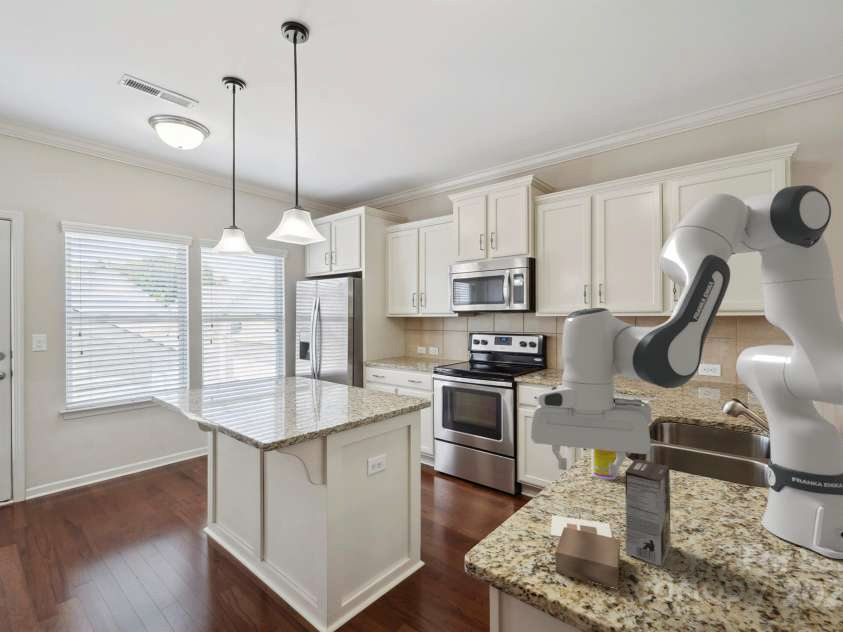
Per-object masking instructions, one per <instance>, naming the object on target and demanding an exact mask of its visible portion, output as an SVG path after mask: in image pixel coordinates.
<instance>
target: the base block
mask: <svg viewBox="0 0 843 632" xmlns="http://www.w3.org/2000/svg"><path fill="white" fill-rule="evenodd" d="M620 542H621V539H619V538H614V537H612V538H611V537H606V536H602V535H598V534H593V533H589V532H584V531H580V530H575V529H571V528H566V527H564V529H563V532H562V535H561V537H559V540H558V544H557V546H556V550H555V553H554V554H555V555H554V556H555V557H554V558H555V561H554V562H555V566H554V567H555V574H559V575H563V576H565V577H570V578H573V577H574V579H577V578H578V579H577V580H580V579H581V581H584V580H585V582H588V581H590V582H589V583H591V582H594V583H593V584H595V583H598V584H597V585H599V584H602V585H606V586H610V587H614V588H617V589H619V573H620V563H619V562H620V559H621V555H620V553H621V552H620V551H621V543H620ZM602 585H601V586H602ZM606 586H605V587H606ZM617 589H616V590H617Z"/></svg>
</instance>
